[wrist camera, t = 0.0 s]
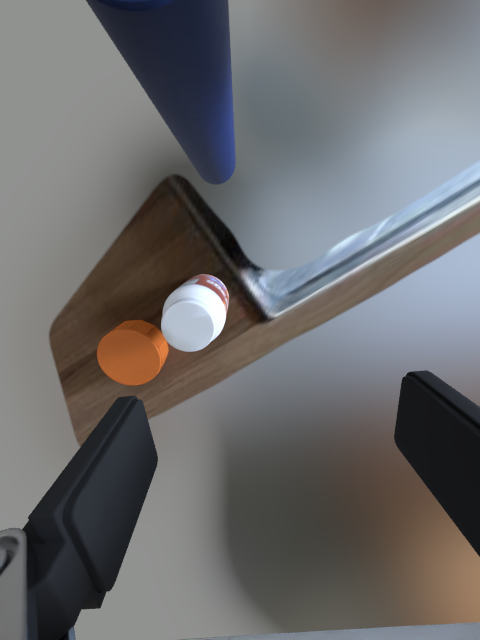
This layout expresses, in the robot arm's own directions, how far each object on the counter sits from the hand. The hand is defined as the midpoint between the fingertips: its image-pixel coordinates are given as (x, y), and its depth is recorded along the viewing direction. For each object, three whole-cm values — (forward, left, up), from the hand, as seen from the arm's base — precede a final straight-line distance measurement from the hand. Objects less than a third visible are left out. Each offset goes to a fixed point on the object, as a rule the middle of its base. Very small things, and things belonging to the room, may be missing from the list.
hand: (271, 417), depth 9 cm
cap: (+7, -16, -23) cm, 29 cm away
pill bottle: (+1, -6, -24) cm, 24 cm away
